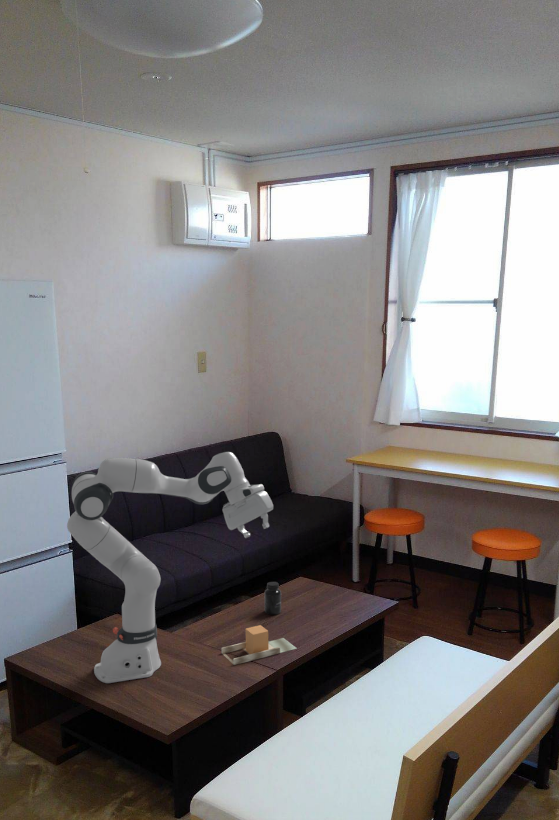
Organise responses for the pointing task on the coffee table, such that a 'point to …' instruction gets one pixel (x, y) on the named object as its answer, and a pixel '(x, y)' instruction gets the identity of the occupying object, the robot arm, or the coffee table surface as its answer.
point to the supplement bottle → (272, 599)
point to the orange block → (256, 639)
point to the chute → (274, 648)
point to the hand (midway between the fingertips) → (257, 532)
